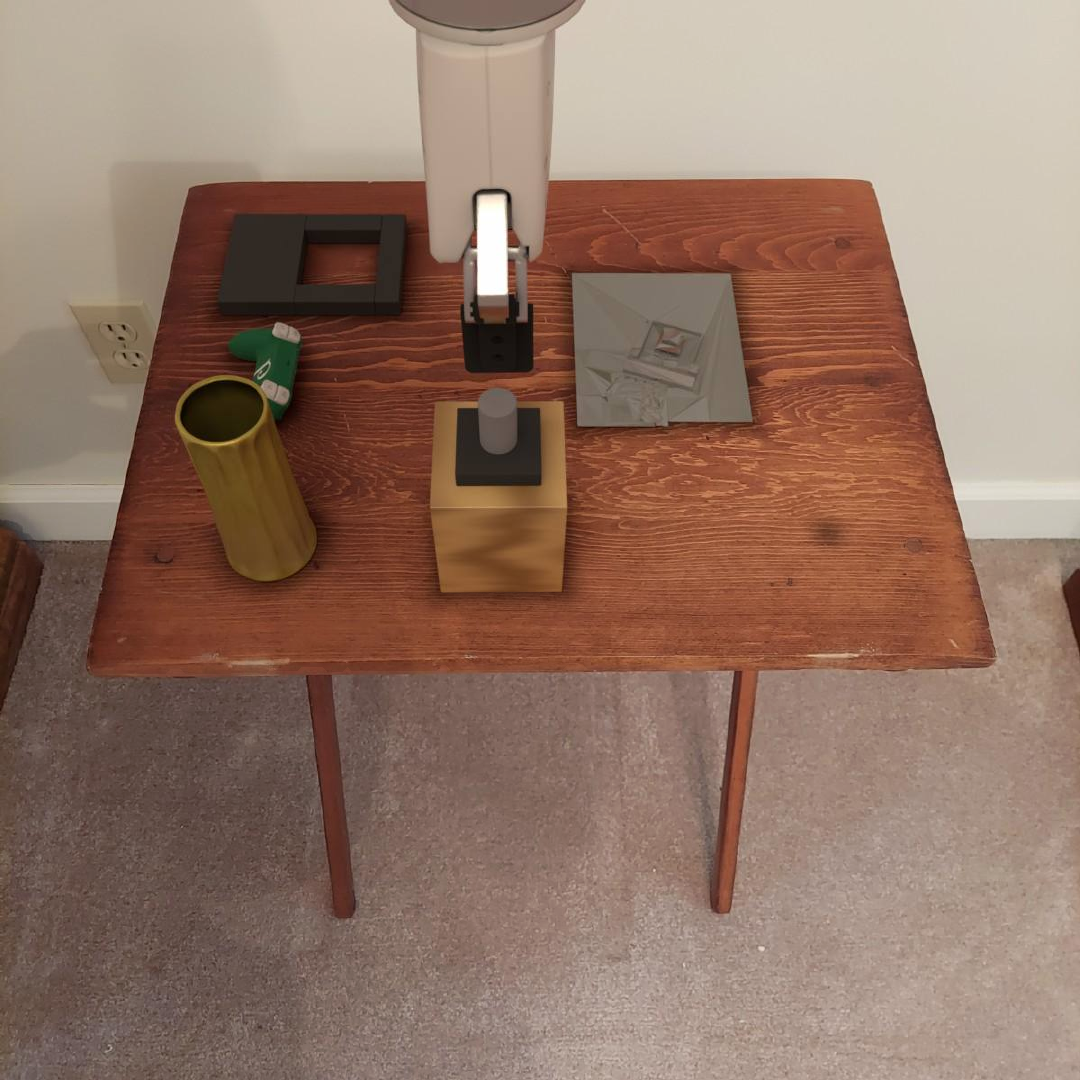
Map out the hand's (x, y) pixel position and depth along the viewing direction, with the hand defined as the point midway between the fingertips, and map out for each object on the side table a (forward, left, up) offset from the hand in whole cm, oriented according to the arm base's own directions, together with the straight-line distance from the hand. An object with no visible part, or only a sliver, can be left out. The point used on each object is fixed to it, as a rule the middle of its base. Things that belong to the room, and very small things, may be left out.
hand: (500, 293), depth 52 cm
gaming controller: (-18, +13, -23) cm, 32 cm away
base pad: (-15, +26, -23) cm, 38 cm away
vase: (-16, 0, -23) cm, 28 cm away
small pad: (0, 0, -13) cm, 13 cm away
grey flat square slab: (+14, +13, -23) cm, 30 cm away
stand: (0, 0, -23) cm, 23 cm away
